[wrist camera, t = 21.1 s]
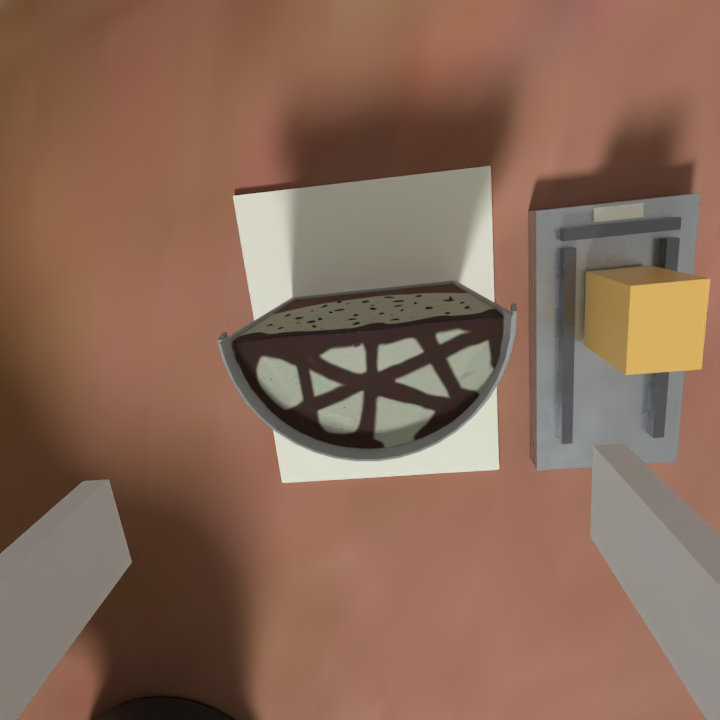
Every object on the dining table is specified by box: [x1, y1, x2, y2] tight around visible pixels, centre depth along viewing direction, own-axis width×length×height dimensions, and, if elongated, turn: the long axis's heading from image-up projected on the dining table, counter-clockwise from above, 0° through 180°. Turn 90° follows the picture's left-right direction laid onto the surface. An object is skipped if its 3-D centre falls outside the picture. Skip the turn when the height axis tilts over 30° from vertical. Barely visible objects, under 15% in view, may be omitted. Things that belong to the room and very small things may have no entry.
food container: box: [218, 280, 517, 461], centre depth 24 cm, size 12×6×10 cm, turn 97°
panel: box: [529, 193, 701, 470], centre depth 27 cm, size 8×15×2 cm, turn 6°
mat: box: [233, 166, 499, 483], centre depth 29 cm, size 14×18×1 cm
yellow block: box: [584, 265, 710, 375], centre depth 24 cm, size 3×4×5 cm
